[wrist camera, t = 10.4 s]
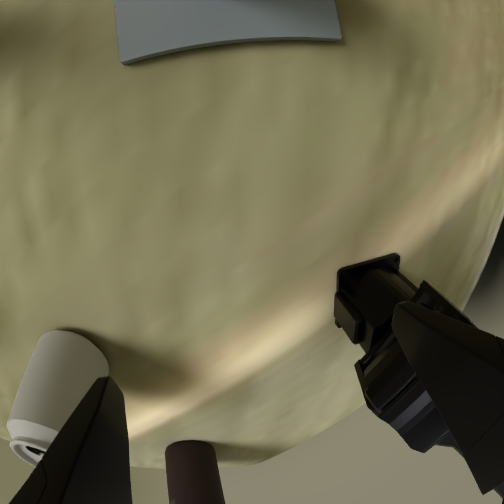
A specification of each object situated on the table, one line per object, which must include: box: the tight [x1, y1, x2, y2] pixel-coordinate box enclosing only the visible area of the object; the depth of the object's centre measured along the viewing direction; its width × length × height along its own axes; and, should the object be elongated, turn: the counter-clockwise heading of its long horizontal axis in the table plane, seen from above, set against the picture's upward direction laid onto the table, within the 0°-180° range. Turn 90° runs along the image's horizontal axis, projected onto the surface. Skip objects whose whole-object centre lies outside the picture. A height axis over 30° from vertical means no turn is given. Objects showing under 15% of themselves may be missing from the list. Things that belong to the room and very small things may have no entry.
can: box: [7, 330, 109, 467], centre depth 17 cm, size 8×8×12 cm
